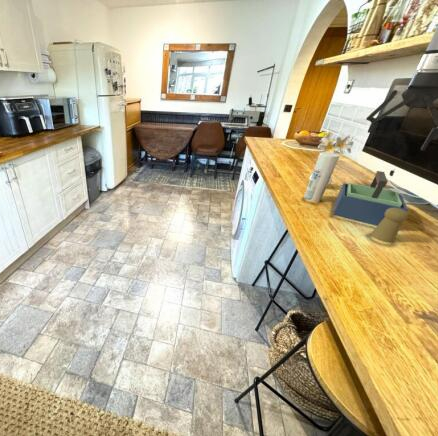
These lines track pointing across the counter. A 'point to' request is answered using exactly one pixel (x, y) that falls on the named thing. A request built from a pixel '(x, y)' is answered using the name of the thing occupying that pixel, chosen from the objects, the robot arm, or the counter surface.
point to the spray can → (321, 176)
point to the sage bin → (374, 191)
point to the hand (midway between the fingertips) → (393, 146)
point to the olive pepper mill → (390, 225)
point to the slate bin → (361, 208)
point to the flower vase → (341, 144)
